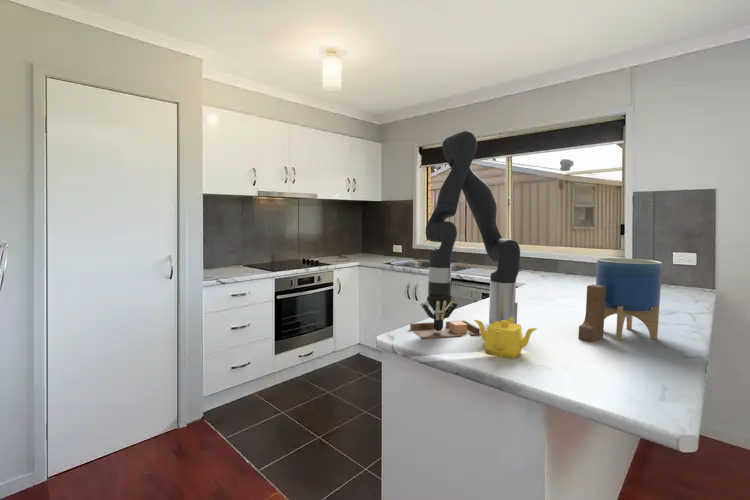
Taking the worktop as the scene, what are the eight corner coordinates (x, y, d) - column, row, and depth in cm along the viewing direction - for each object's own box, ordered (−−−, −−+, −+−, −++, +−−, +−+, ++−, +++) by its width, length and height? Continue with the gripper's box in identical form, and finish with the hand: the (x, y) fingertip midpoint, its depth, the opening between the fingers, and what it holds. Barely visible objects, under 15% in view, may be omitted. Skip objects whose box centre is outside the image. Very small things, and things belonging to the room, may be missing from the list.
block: (461, 329, 138) (461, 321, 138) (466, 333, 133) (467, 324, 133) (449, 330, 137) (449, 321, 137) (454, 333, 132) (455, 325, 132)
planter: (587, 333, 139) (590, 260, 137) (600, 323, 153) (604, 256, 151) (652, 346, 126) (657, 265, 124) (661, 333, 140) (665, 260, 138)
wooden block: (591, 342, 129) (594, 288, 128) (577, 338, 133) (580, 286, 131) (603, 337, 135) (606, 286, 133) (590, 334, 138) (592, 284, 137)
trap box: (464, 329, 143) (464, 320, 143) (480, 339, 131) (481, 329, 131) (410, 333, 138) (410, 323, 138) (422, 343, 126) (422, 333, 126)
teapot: (495, 361, 111) (496, 328, 110) (471, 346, 125) (472, 316, 124) (539, 357, 114) (540, 325, 114) (511, 343, 128) (512, 314, 127)
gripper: (452, 278, 137) (451, 326, 139) (417, 279, 134) (416, 328, 136) (462, 281, 130) (460, 332, 131) (425, 282, 127) (424, 334, 128)
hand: (438, 330), depth 134 cm, fingers closed
